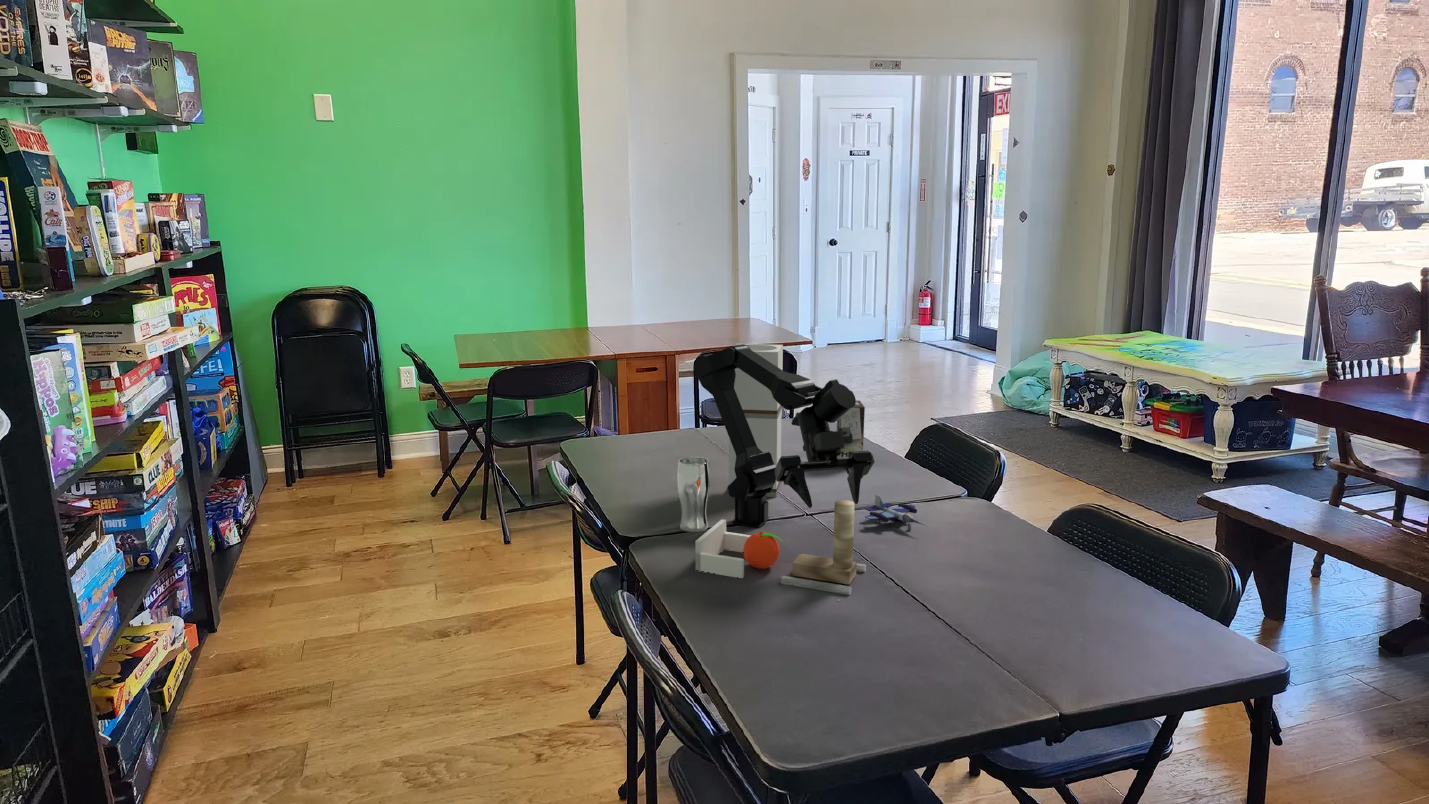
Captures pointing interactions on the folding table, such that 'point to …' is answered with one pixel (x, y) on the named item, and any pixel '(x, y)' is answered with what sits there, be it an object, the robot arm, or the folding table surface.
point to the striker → (842, 561)
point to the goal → (716, 543)
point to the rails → (821, 583)
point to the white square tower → (760, 410)
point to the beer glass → (693, 492)
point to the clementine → (761, 550)
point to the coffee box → (853, 429)
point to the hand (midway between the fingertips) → (833, 505)
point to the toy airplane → (892, 512)
